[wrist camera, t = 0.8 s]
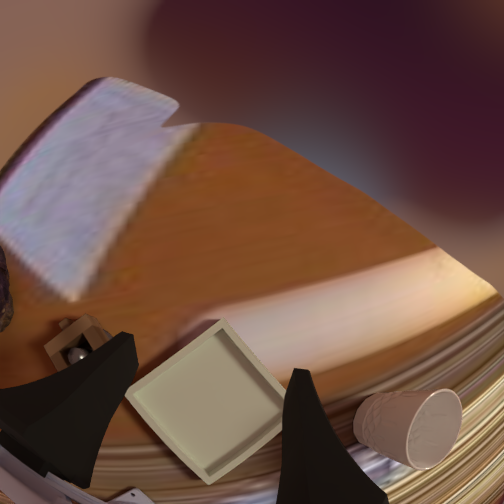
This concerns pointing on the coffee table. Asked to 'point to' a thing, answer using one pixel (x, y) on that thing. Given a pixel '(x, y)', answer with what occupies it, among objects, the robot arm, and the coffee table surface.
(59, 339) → the brown square frame
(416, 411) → the white cup
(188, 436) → the tray
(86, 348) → the grey knobbed lid
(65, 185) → the coffee table surface
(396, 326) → the coffee table surface
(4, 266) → the rock
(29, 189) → the coffee table surface
